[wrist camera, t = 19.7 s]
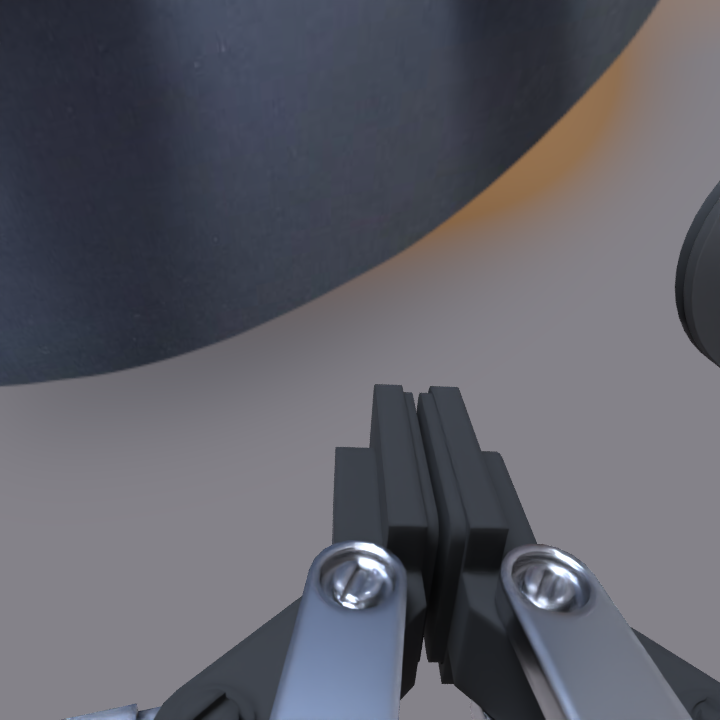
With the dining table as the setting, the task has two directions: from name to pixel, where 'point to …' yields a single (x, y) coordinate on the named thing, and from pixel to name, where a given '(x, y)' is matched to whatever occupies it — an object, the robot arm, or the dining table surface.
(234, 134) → the dining table surface
